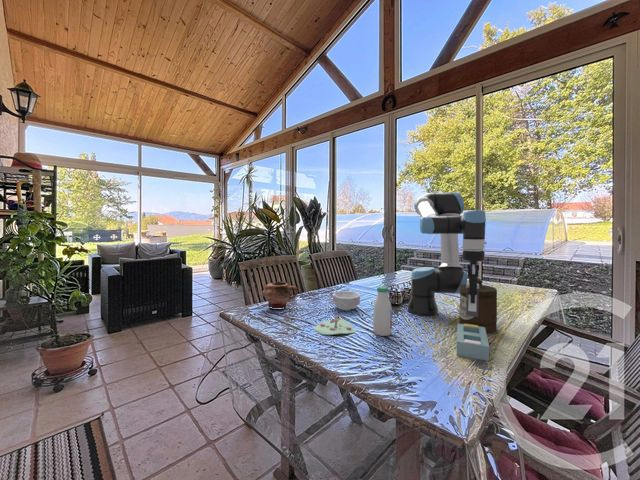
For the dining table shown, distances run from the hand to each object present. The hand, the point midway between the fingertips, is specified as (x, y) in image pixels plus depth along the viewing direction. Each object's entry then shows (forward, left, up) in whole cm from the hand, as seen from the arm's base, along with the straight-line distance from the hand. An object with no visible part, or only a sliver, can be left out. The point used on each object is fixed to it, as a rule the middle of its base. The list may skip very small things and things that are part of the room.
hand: (472, 309), depth 112 cm
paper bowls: (-61, +22, -14) cm, 66 cm away
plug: (0, 0, -2) cm, 2 cm away
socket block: (0, -4, -13) cm, 14 cm away
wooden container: (+3, +20, -14) cm, 24 cm away
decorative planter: (-95, +7, -14) cm, 96 cm away
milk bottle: (-34, -5, -14) cm, 37 cm away
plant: (-56, -5, -14) cm, 58 cm away
